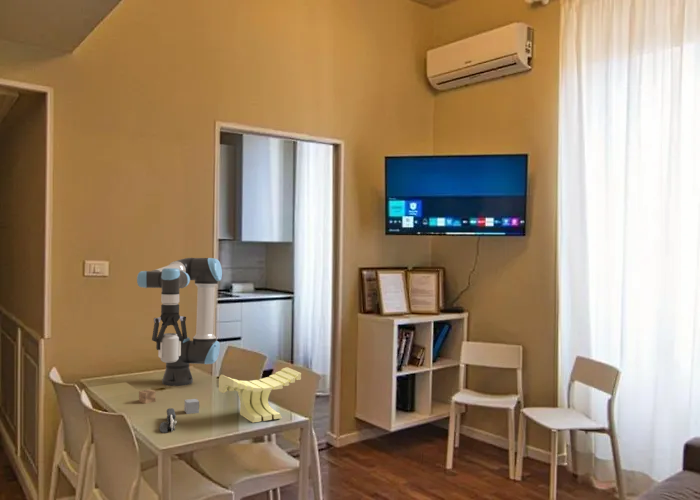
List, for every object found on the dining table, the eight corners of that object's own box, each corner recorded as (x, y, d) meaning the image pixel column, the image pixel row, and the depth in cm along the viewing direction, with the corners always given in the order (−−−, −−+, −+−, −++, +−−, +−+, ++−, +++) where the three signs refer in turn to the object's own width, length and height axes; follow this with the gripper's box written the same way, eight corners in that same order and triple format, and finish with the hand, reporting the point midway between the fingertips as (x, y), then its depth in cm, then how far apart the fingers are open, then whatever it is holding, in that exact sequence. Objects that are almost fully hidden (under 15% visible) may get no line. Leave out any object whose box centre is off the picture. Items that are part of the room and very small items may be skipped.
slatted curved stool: (283, 406, 266) (284, 365, 266) (300, 415, 252) (301, 372, 252) (218, 415, 250) (218, 372, 249) (232, 425, 236) (233, 380, 236)
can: (182, 360, 263) (182, 333, 263) (171, 363, 256) (172, 335, 256) (167, 359, 266) (167, 332, 266) (156, 362, 259) (157, 334, 258)
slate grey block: (196, 410, 257) (196, 398, 257) (198, 413, 253) (199, 401, 253) (184, 411, 255) (184, 399, 255) (186, 414, 250) (187, 402, 250)
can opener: (176, 433, 227) (176, 419, 227) (159, 434, 225) (159, 420, 225) (177, 418, 245) (177, 406, 245) (161, 419, 244) (161, 407, 244)
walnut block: (148, 400, 272) (148, 389, 272) (155, 402, 269) (155, 391, 269) (139, 402, 268) (139, 391, 268) (145, 404, 265) (145, 393, 265)
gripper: (189, 301, 270) (188, 352, 270) (143, 304, 257) (143, 357, 258) (196, 303, 264) (195, 355, 264) (149, 305, 251) (149, 360, 252)
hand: (169, 356), depth 261 cm, fingers closed on can, 7 cm apart
